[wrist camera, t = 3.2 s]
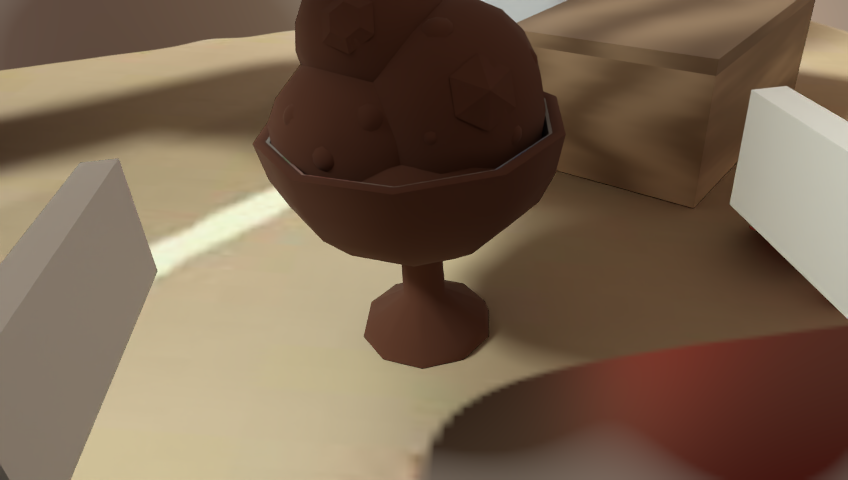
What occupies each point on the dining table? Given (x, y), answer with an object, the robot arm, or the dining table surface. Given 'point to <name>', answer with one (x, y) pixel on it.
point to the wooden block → (662, 84)
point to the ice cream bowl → (413, 152)
